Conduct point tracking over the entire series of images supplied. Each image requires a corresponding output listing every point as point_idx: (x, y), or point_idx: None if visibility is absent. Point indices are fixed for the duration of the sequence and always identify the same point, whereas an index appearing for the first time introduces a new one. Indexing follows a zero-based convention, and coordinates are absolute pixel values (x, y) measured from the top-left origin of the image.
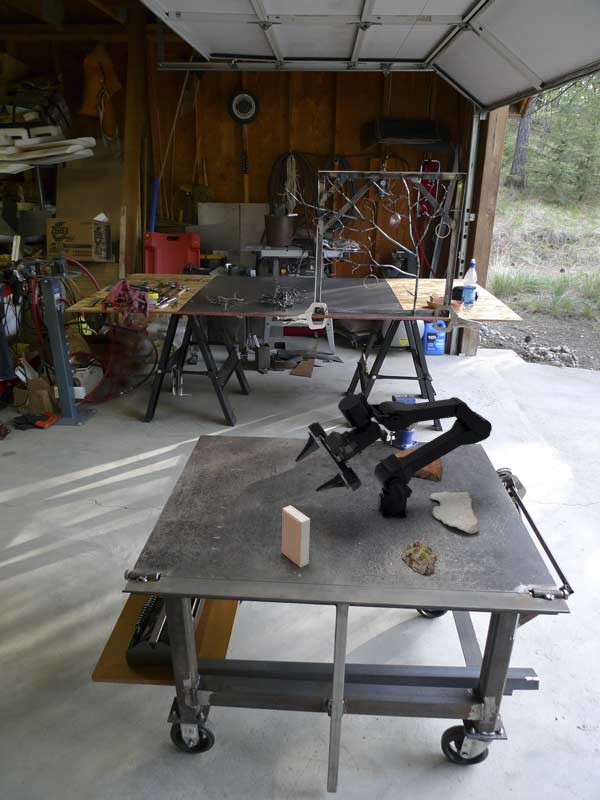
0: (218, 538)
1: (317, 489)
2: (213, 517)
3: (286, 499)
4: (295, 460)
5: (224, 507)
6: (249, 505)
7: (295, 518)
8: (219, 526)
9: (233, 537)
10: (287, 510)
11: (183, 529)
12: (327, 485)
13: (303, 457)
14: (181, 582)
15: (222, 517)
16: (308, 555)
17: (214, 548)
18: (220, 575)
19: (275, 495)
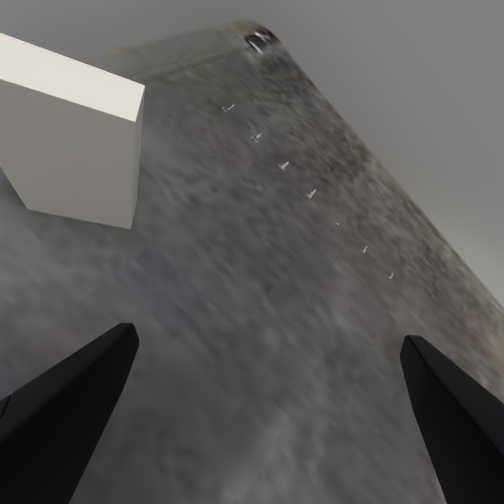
0: (280, 165)
1: (114, 329)
2: (344, 212)
3: (322, 407)
4: (415, 335)
5: (363, 252)
6: (346, 300)
7: (27, 45)
8: (311, 194)
9: (264, 184)
10: (112, 80)
11: (338, 153)
12: (24, 387)
13: (429, 421)
14: (215, 44)
15: (335, 223)
16: (17, 192)
17: (257, 135)
18: (180, 80)
19: (352, 392)
